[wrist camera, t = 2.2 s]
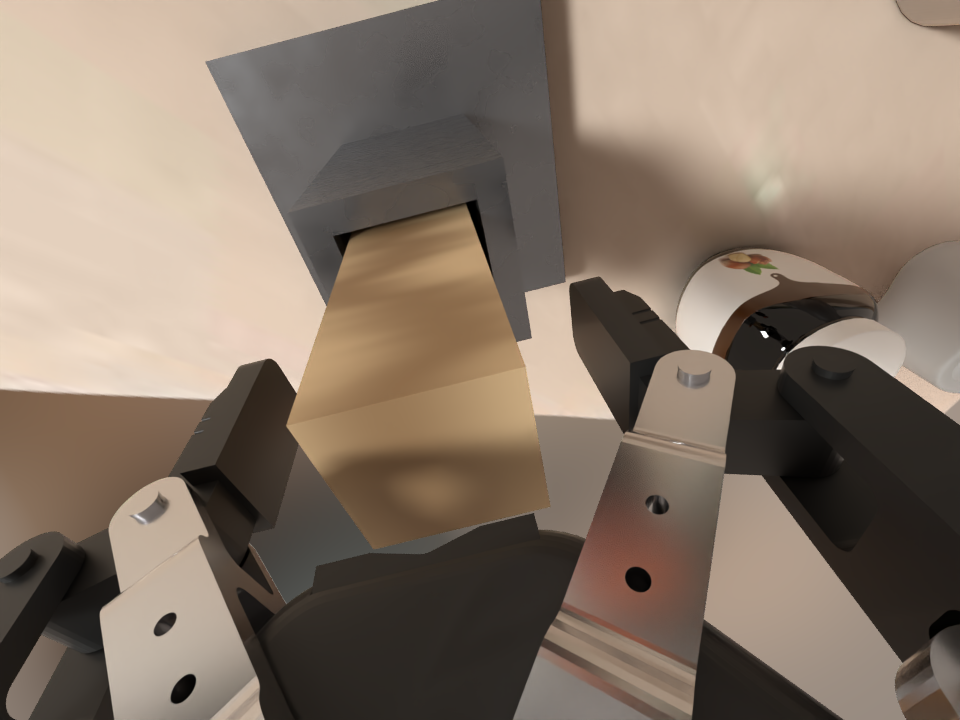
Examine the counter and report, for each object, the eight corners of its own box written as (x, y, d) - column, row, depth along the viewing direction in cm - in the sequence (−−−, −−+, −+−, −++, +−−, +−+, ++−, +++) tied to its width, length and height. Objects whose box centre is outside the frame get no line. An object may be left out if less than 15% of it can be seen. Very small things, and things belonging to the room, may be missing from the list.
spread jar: (801, 237, 32) (965, 313, 22) (750, 357, 38) (859, 455, 29) (650, 251, 31) (755, 337, 21) (624, 372, 37) (696, 478, 28)
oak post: (445, 147, 23) (526, 364, 7) (462, 219, 25) (551, 507, 9) (374, 165, 23) (284, 425, 7) (397, 236, 25) (373, 550, 9)
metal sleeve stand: (528, -20, 21) (665, -109, 10) (557, 270, 30) (642, 394, 19) (221, 61, 21) (3, 66, 10) (346, 323, 31) (308, 477, 19)
